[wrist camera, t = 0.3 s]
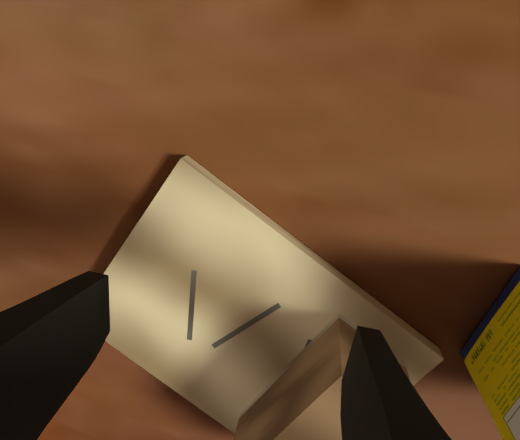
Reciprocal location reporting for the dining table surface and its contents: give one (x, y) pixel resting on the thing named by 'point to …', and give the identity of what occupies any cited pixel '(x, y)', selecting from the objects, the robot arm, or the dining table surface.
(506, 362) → the supplement box
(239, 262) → the birch board
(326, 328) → the block
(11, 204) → the dining table surface
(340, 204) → the dining table surface
